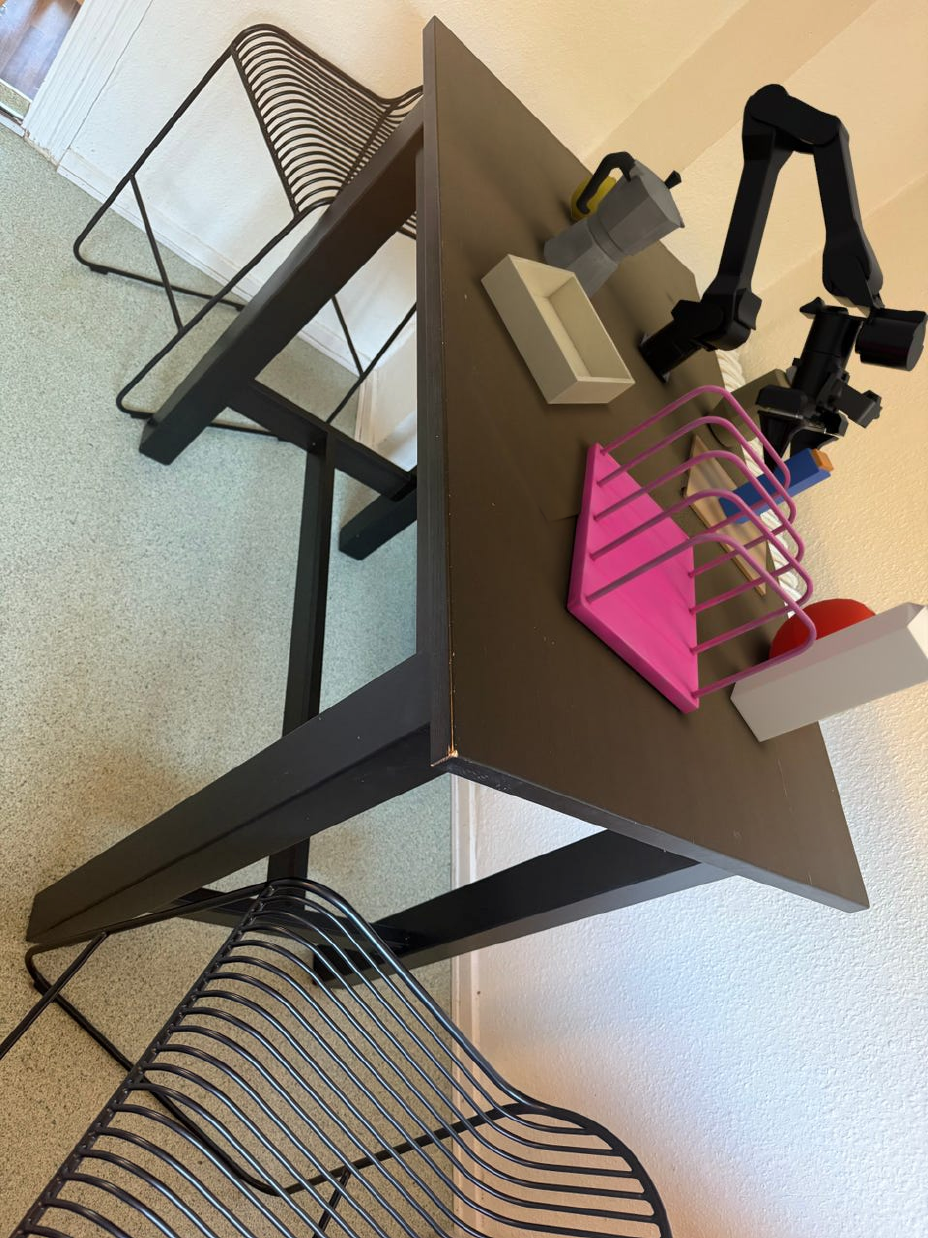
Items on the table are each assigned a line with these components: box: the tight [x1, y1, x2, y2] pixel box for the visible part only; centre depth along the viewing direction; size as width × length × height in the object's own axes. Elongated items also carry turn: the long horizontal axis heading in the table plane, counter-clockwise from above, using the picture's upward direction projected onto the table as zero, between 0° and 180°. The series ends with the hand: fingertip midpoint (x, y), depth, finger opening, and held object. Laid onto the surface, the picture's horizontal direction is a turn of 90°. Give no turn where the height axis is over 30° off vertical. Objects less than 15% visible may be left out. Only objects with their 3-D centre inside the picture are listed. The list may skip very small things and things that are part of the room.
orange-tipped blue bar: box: [718, 448, 835, 524], centre depth 109 cm, size 4×5×14 cm
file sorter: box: [566, 384, 816, 714], centre depth 79 cm, size 17×25×16 cm
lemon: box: [570, 174, 618, 221], centre depth 119 cm, size 6×6×8 cm
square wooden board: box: [682, 434, 768, 597], centre depth 113 cm, size 18×18×1 cm
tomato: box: [768, 597, 877, 660], centre depth 96 cm, size 13×11×14 cm
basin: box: [480, 253, 636, 405], centre depth 92 cm, size 15×15×5 cm
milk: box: [729, 601, 928, 743], centre depth 84 cm, size 6×6×22 cm
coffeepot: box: [543, 151, 686, 300], centre depth 102 cm, size 15×9×18 cm, turn 103°
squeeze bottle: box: [707, 365, 796, 448], centre depth 122 cm, size 8×8×18 cm
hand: (781, 476), depth 109 cm, fingers open, 9 cm apart
